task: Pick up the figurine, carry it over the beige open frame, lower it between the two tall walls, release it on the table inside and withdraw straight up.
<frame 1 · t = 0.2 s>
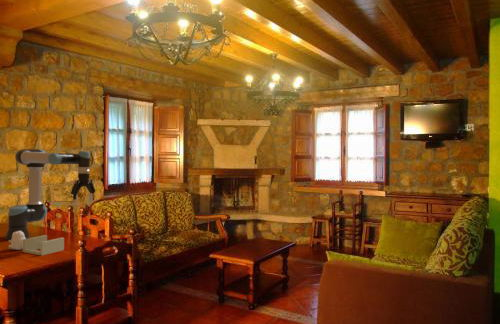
hand: (83, 203, 287), 28 cm above the table, fingers open, 13 cm apart
beige open frame: (43, 251, 260), on the table
figurine: (18, 249, 263), on the table
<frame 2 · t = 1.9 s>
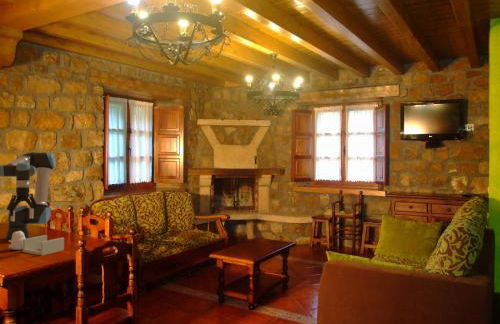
hand: (22, 219, 263), 19 cm above the table, fingers open, 13 cm apart
nothing on the table moved.
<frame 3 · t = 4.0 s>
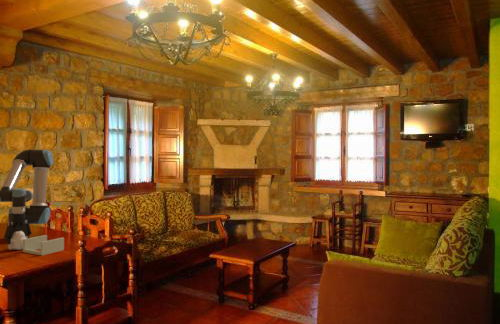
hand: (17, 247, 262), 1 cm above the table, fingers closed on figurine, 10 cm apart
figurine: (18, 249, 263), on the table, touching gripper
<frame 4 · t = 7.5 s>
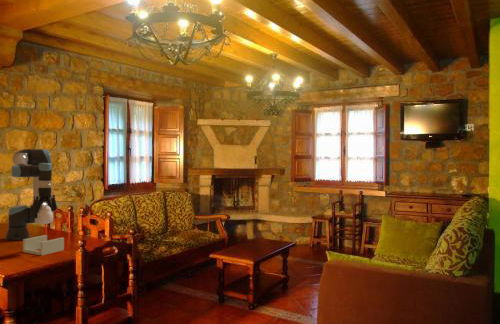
hand: (44, 222, 260), 19 cm above the table, fingers closed on figurine, 10 cm apart
figurine: (44, 224, 261), point 17 cm above the table, touching gripper
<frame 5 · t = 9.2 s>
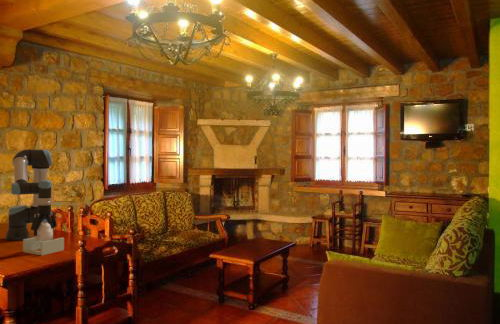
hand: (43, 239, 260), 7 cm above the table, fingers closed on figurine, 10 cm apart
figurine: (44, 241, 261), point 6 cm above the table, touching gripper
when the fingers open (4 cm above the table, at t = 10.6 s): figurine drops 2 cm, resting in beige open frame.
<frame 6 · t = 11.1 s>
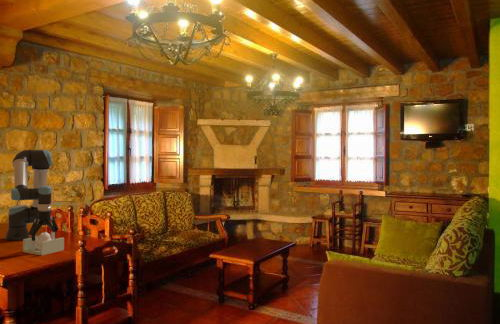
hand: (43, 243, 260), 5 cm above the table, fingers open, 13 cm apart
figurine: (44, 251, 261), resting in beige open frame
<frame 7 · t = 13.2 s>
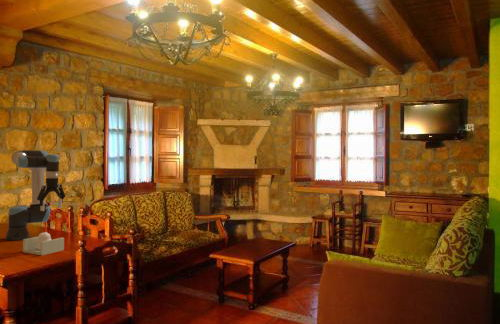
hand: (51, 209, 271), 25 cm above the table, fingers open, 13 cm apart
nothing on the table moved.
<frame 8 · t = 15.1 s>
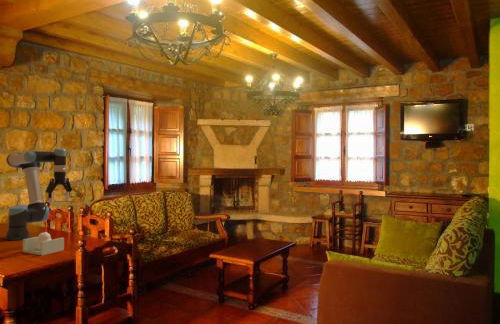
hand: (59, 201, 284), 29 cm above the table, fingers open, 13 cm apart
nothing on the table moved.
at the end: figurine inside the target area on the beige open frame (0.4 cm from its centre), point 0.0 cm above the beige open frame's base; figurine tilted 0°; the gripper is holding nothing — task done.
